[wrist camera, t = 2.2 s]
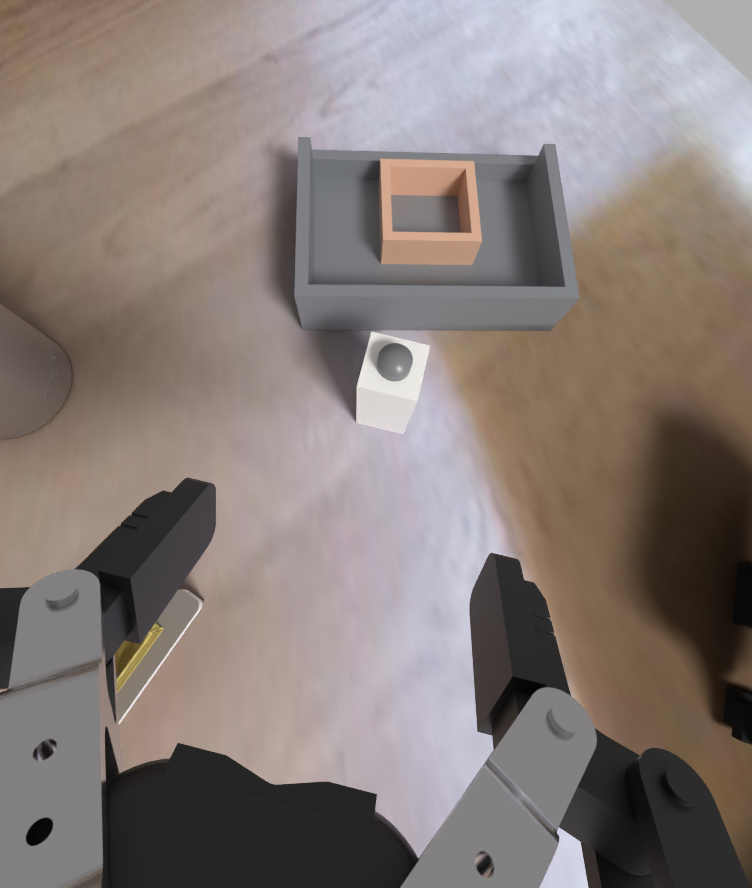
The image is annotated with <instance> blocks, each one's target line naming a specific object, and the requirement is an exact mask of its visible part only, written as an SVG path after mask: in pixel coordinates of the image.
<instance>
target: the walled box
mask: <svg viewBox="0 0 752 888" xmlns="http://www.w3.org/2000/svg"><path fill="white" fill-rule="evenodd" d="M294 297H295V301H296V305H297V309H298V314H299V318H300V322H301V326H302V330H529V331H551V330H552V328H553V327H554V326H555V325H556V324H557V323H558V322H559V321H560V320H561V318H562V317H563V316H564V315H565V314H566V313H567V312H568V311H569V310H570V308H571V307H572V306H573V305H574V304H575V303H576V302H577V301H578V299H579V292H578V285H577V279H576V273H575V266H574V260H573V254H572V247H571V241H570V235H569V228H568V222H567V216H566V209H565V203H564V197H563V191H562V184H561V178H560V172H559V165H558V159H557V153H556V146H555V144H544V145H543V147H542V149H541V151H540V153H539V156H527V155H489V154H451V153H413V152H376V151H338V150H312V147H311V138H310V137H298V174H297V213H296V252H295V291H294Z"/></svg>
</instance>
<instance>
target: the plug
mask: <svg viewBox="0 0 752 888" xmlns="http://www.w3.org/2000/svg"><path fill="white" fill-rule="evenodd" d="M429 349H430V346H429V345H425V344H420V343H416V342H412V341H408V340H404V339H400V338H396V337H392V336H388V335H384V334H379V333H375V332H371V335H370V339H369V343H368V347H367V350H366V354H365V358H364V361H363V365H362V369H361V372H360V376H359V380H358V383H357V402H356V423H360V424H364V425H368V426H372V427H376V428H380V429H384V430H388V431H392V432H396V433H400V434H404V432H405V429H406V427H407V425H408V422H409V420H410V418H411V415H412V413H413V410H414V408H415V406H416V403H417V401H418V397H419V392H420V388H421V384H422V379H423V375H424V371H425V366H426V362H427V358H428V353H429Z"/></svg>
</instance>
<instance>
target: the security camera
mask: <svg viewBox="0 0 752 888" xmlns="http://www.w3.org/2000/svg"><path fill="white" fill-rule="evenodd" d="M733 623H735V624H738V625H741V626H744V627H748V628H751V629H752V565H750V564H747V563H738V570H737V581H736V592H735V603H734V614H733ZM724 721H726V722H729V723H731V724H733V728H732V737H734V738H736V739H738V740H740V741H743V742H746V743H749V744H752V695H751V694H748V693H745V692H742V691H739V690H736V689H733V688H730V687H727V689H726V700H725V710H724Z"/></svg>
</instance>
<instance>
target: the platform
mask: <svg viewBox="0 0 752 888" xmlns="http://www.w3.org/2000/svg"><path fill="white" fill-rule="evenodd" d="M203 602H204V600H203V599H200V598H198V597H197V596H195V595H194V594H193V593H191V592H190V591H188V590H186V589H182V590H177V592H176V593H175V595H174V596H173V598H172V599H171V601H170V602H169V604H168V605H167V606H166V608H165V609H164V611H163V612H162V614H161V615H160V617H159V618H158V620H157V621H156V622H155V624H154V625H153V627H152V628H151V630H150V631H149V633H148V634H147V636H146V637H145V638H144V640H143V641H142V643H141V644H137V643H134V644H133V642H129V641H124V642H123V643H122V645H121V646H120V647H119V649H118V650H117V652H116V653H115V664H116V673H118V672H120V671H122V670H123V672H122V673H121V674H120V676H119V677H118V678H117V680H116V682H117V701H118V719H119V724H120V723H121V721H122V720H123V718H124V717H125V716H126V714H127V713H128V711H129V710H130V709H131V707H132V706H133V704H134V703H135V701H136V700H137V699H138V697H139V696H140V694H141V693H142V692H143V690H144V689H145V687H146V686H147V684H148V683H149V682H150V680H151V679H152V677H153V676H154V675H155V673H156V672H157V670H158V669H159V667H160V666H161V665H162V663H163V662H164V660H165V659H166V658H167V656H168V655H169V653H170V652H171V651H172V649H173V648H174V646H175V645H176V643H177V642H178V641H179V639H180V638H181V636H182V635H183V634H184V632H185V631H186V629H187V628H188V626H189V625H190V624H191V622H192V621H193V619H194V618H195V617H196V615H197V614H198V612H199V611H200V609H201V608H202V603H203ZM162 627H163V628H162ZM128 659H129V660H128Z"/></svg>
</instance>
